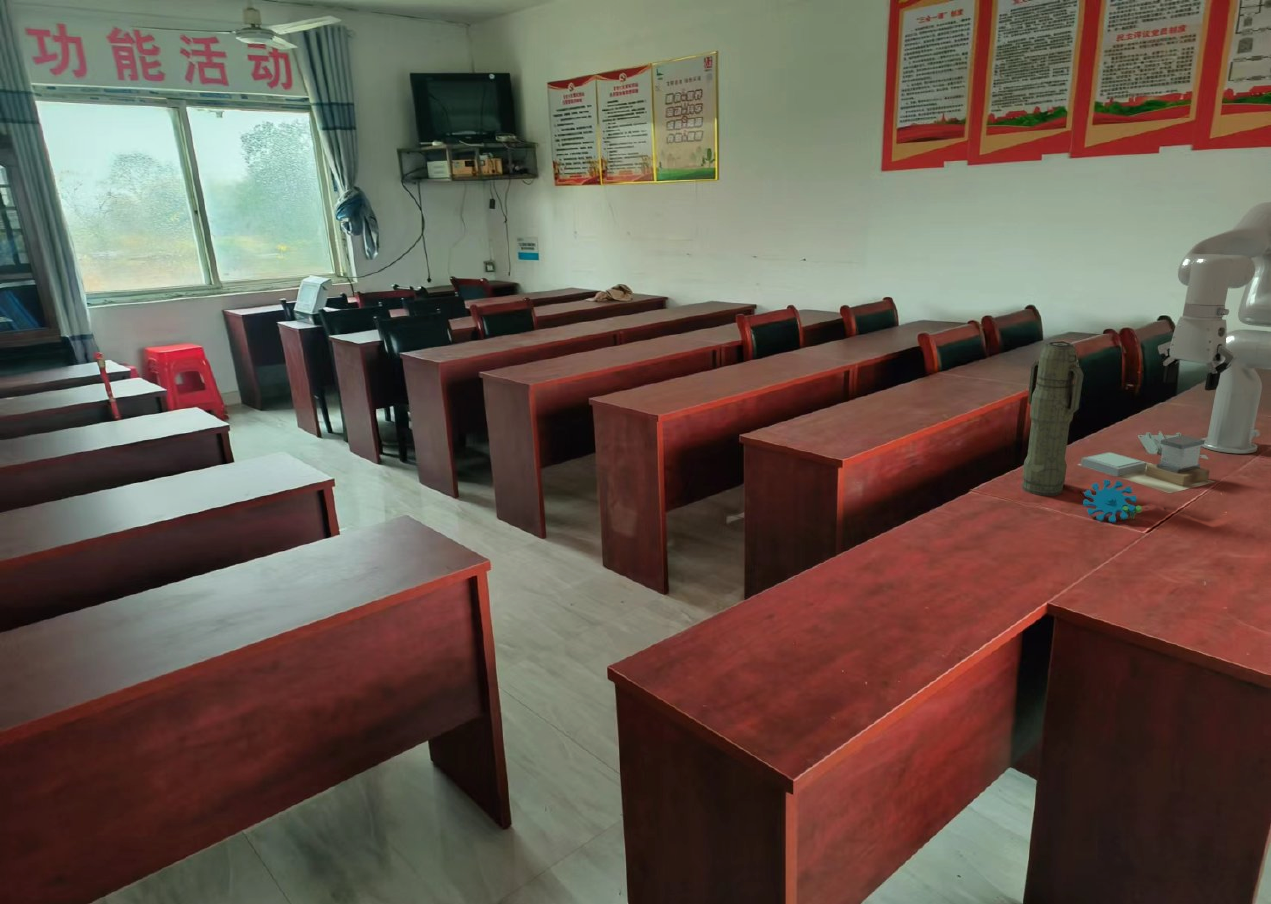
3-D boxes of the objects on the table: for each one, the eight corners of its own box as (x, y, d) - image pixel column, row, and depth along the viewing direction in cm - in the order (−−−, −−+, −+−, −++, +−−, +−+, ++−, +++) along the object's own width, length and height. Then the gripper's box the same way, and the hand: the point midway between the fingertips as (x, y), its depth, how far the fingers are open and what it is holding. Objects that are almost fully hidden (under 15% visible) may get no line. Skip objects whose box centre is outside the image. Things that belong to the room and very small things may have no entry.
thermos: (1057, 500, 182) (1076, 349, 172) (1008, 487, 191) (1024, 343, 181) (1077, 491, 187) (1097, 344, 176) (1028, 479, 196) (1045, 338, 186)
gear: (1074, 509, 173) (1095, 471, 174) (1076, 520, 177) (1097, 484, 179) (1128, 529, 165) (1150, 490, 167) (1130, 540, 170) (1151, 502, 171)
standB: (1108, 459, 205) (1109, 451, 204) (1145, 470, 196) (1146, 461, 196) (1080, 465, 201) (1081, 457, 201) (1117, 476, 193) (1118, 468, 192)
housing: (1178, 462, 193) (1183, 435, 191) (1199, 468, 189) (1204, 440, 187) (1156, 467, 190) (1161, 439, 188) (1177, 473, 186) (1182, 445, 184)
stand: (1170, 469, 196) (1172, 460, 195) (1207, 480, 188) (1209, 470, 187) (1145, 475, 193) (1147, 465, 192) (1182, 486, 185) (1184, 476, 184)
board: (1120, 458, 208) (1121, 454, 208) (1214, 485, 187) (1215, 481, 187) (1076, 468, 203) (1077, 464, 202) (1169, 497, 181) (1169, 493, 181)
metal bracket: (1130, 427, 216) (1191, 428, 213) (1124, 445, 219) (1185, 446, 216) (1148, 457, 204) (1214, 458, 201) (1142, 475, 207) (1207, 477, 205)
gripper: (1254, 315, 174) (1238, 391, 179) (1176, 308, 190) (1164, 378, 194) (1232, 316, 172) (1216, 394, 176) (1155, 309, 187) (1142, 381, 192)
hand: (1189, 386), depth 185 cm, fingers open, 9 cm apart
